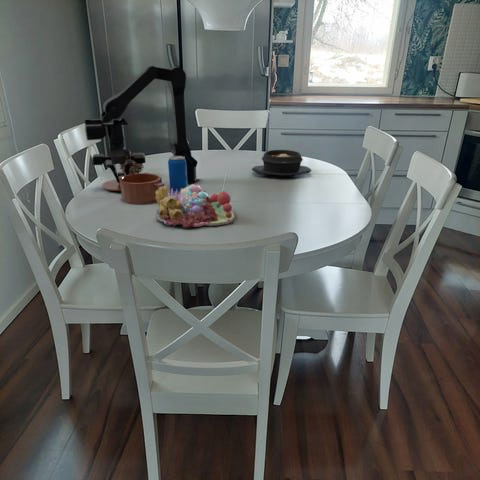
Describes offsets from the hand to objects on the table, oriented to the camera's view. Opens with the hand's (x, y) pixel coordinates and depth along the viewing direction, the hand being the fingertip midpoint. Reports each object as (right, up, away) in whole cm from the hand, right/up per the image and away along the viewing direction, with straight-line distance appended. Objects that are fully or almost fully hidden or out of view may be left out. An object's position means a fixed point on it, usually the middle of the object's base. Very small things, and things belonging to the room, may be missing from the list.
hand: (122, 182), depth 171 cm
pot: (+10, -9, -11) cm, 17 cm away
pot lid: (0, -1, +1) cm, 1 cm away
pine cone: (+1, +9, +18) cm, 20 cm away
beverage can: (+22, -4, -3) cm, 22 cm away
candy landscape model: (+30, -19, -27) cm, 44 cm away
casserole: (+62, +9, +20) cm, 66 cm away
